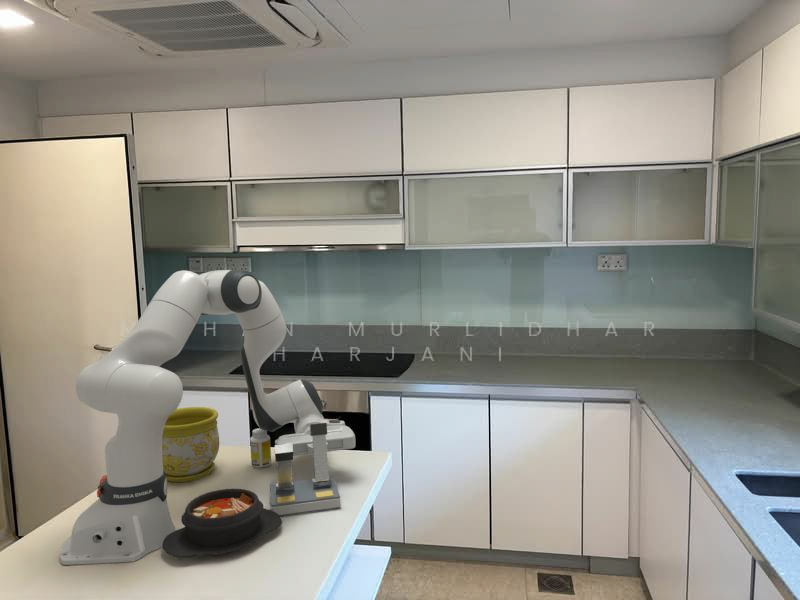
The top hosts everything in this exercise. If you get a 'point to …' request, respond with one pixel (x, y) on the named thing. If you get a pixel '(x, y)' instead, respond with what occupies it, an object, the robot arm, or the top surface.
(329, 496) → the switch unit
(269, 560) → the top surface
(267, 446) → the supplement bottle
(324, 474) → the lever right
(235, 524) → the casserole
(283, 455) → the lever left
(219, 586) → the top surface
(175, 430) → the flowerpot
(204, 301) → the robot arm
